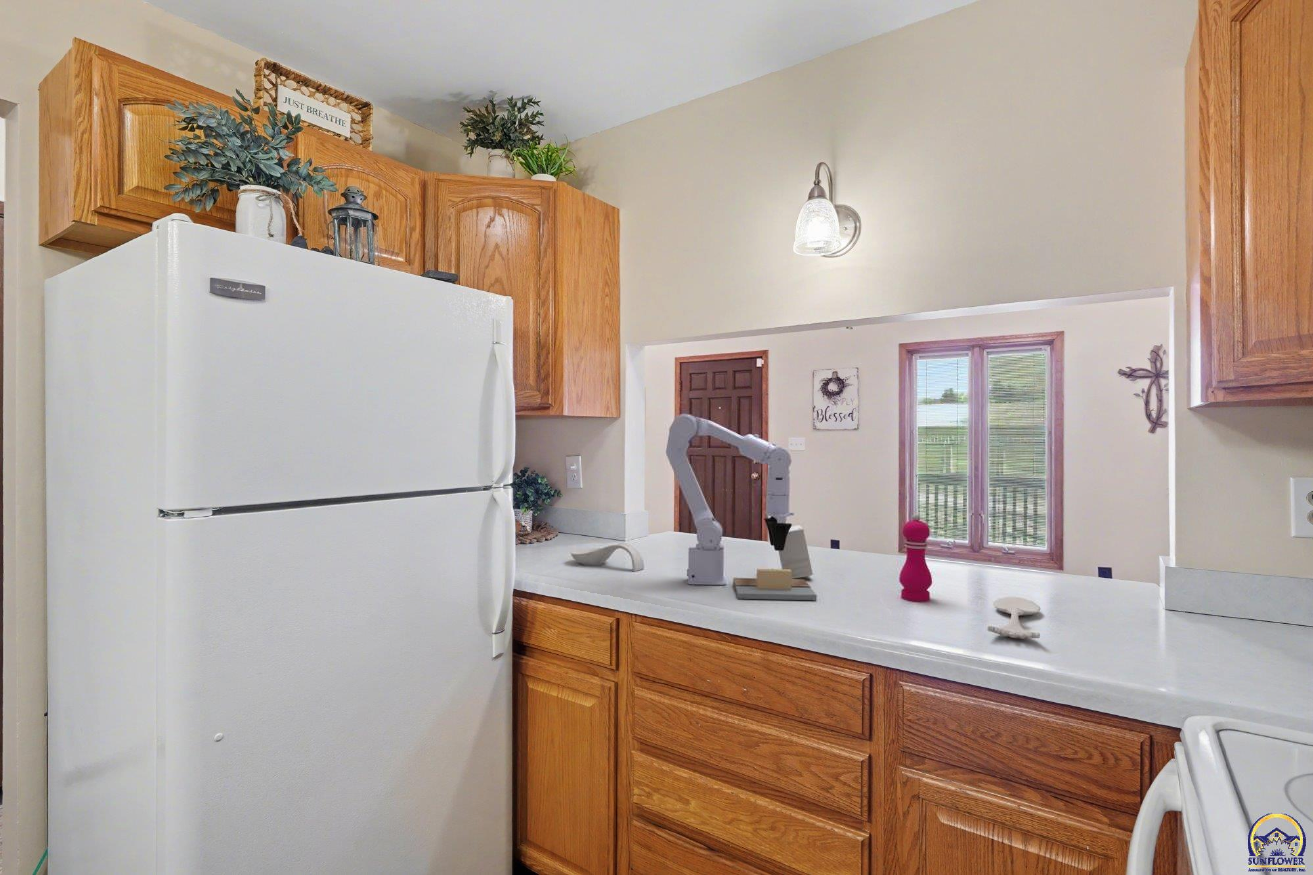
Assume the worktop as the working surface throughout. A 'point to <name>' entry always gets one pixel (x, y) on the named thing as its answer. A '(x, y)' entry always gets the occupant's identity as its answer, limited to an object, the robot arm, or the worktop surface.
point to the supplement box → (796, 553)
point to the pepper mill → (915, 562)
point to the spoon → (1015, 617)
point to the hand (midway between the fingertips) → (776, 547)
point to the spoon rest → (607, 555)
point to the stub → (775, 587)
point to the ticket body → (753, 582)
